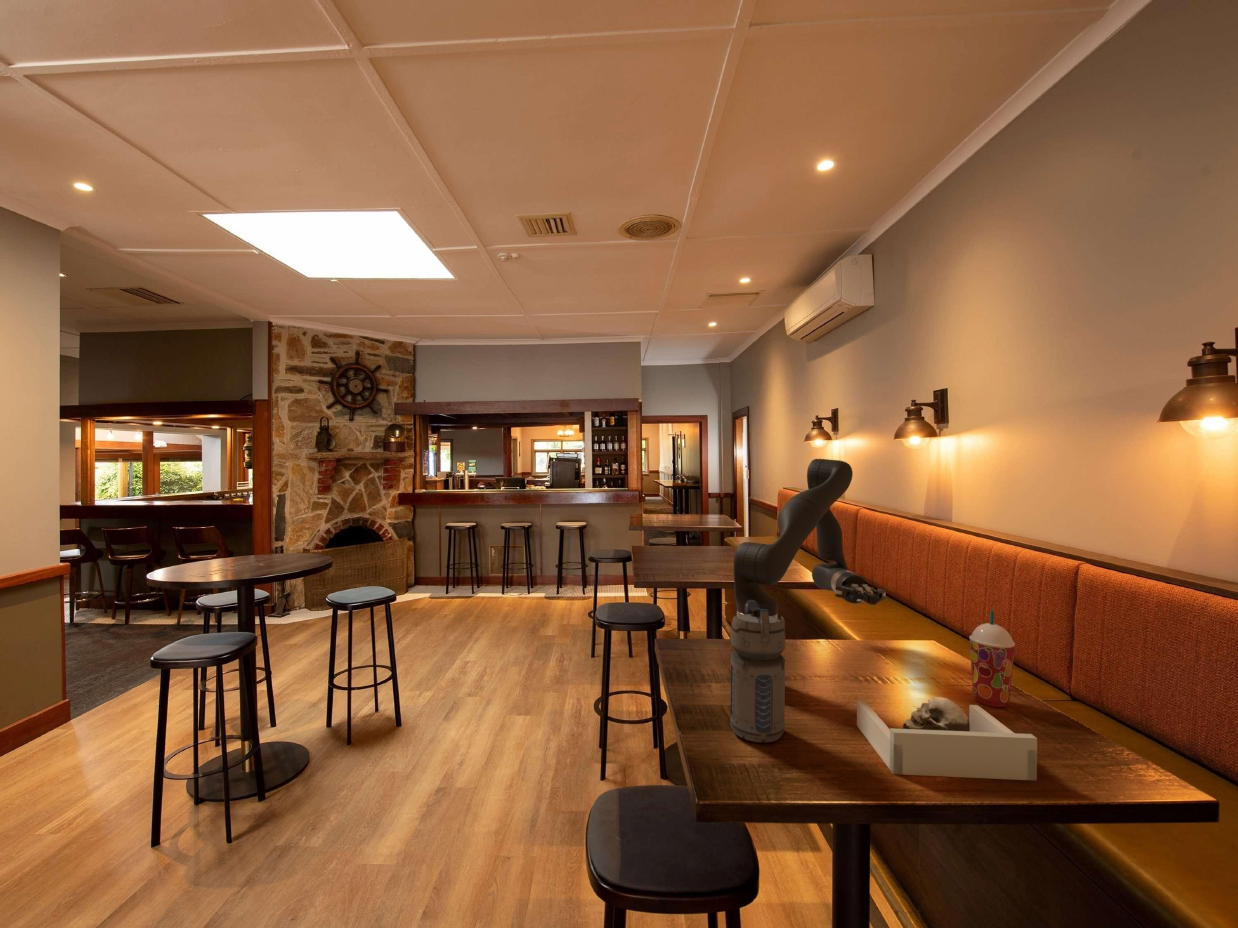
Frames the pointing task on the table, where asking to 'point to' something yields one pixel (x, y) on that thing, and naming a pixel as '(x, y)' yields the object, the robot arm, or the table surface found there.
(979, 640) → the smoothie
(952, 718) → the skull
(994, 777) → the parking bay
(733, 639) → the beverage bottle
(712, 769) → the table surface
